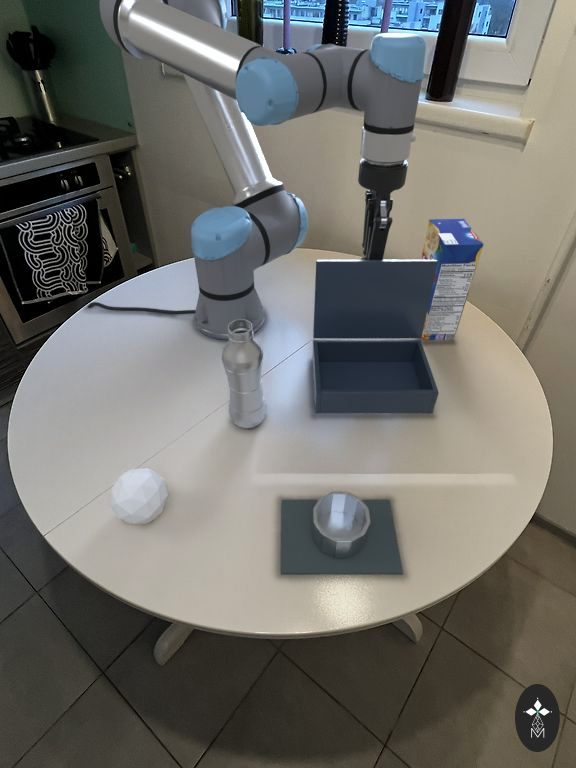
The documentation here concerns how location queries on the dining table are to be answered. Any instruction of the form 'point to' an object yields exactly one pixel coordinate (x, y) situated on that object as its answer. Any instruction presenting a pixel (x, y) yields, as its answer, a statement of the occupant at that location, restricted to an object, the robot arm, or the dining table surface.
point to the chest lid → (372, 298)
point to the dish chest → (372, 377)
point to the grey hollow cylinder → (340, 524)
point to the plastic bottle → (244, 375)
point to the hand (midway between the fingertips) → (367, 290)
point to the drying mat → (308, 559)
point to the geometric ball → (138, 496)
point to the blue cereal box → (449, 274)
